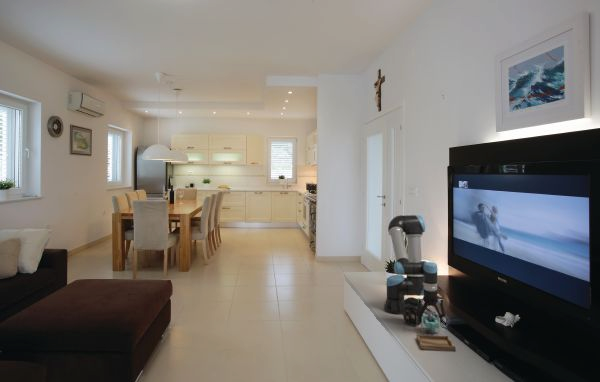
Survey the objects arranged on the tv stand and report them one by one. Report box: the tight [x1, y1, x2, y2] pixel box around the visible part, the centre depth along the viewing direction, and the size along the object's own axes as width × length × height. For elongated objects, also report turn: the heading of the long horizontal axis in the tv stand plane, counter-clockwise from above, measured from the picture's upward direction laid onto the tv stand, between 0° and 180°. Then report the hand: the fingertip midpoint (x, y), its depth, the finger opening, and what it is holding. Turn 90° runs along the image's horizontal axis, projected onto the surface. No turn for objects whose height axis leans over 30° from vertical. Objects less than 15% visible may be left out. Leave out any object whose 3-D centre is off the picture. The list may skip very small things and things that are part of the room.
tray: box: [416, 334, 456, 352], centre depth 191 cm, size 13×17×2 cm
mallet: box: [424, 310, 437, 336], centre depth 206 cm, size 5×6×12 cm
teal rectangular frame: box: [423, 314, 440, 331], centre depth 205 cm, size 13×7×3 cm, turn 173°
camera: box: [402, 296, 424, 327], centre depth 220 cm, size 10×11×15 cm
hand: (430, 327), depth 206 cm, fingers open, 9 cm apart
